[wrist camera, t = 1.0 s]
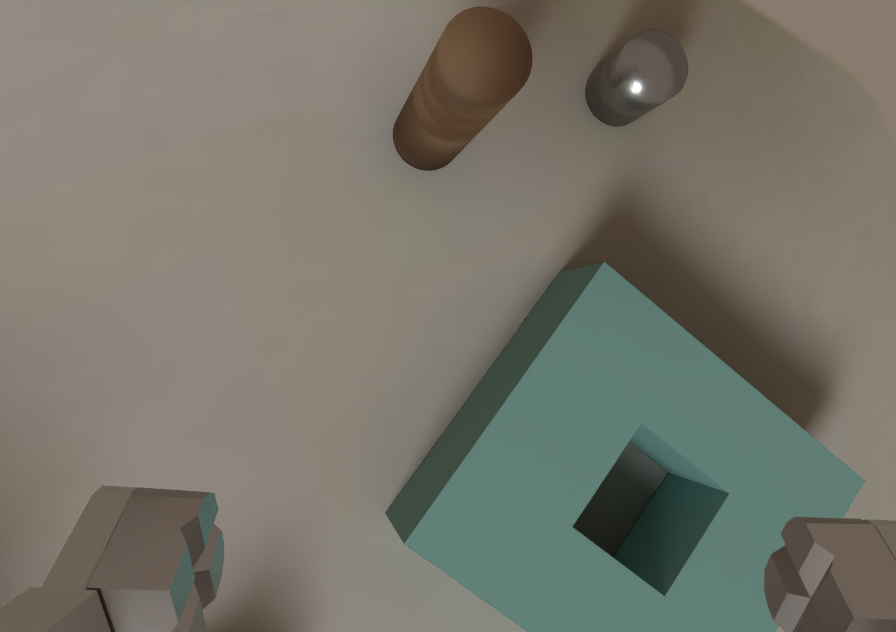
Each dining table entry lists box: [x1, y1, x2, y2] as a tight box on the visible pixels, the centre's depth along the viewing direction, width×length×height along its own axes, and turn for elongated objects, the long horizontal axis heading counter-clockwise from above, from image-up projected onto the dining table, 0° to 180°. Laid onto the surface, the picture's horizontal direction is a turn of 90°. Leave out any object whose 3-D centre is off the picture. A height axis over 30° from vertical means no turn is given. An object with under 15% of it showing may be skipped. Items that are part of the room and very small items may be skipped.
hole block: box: [385, 262, 865, 632], centre depth 33 cm, size 16×14×5 cm
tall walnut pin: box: [393, 7, 532, 171], centre depth 29 cm, size 3×3×10 cm
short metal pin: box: [585, 30, 688, 126], centre depth 34 cm, size 3×3×4 cm
